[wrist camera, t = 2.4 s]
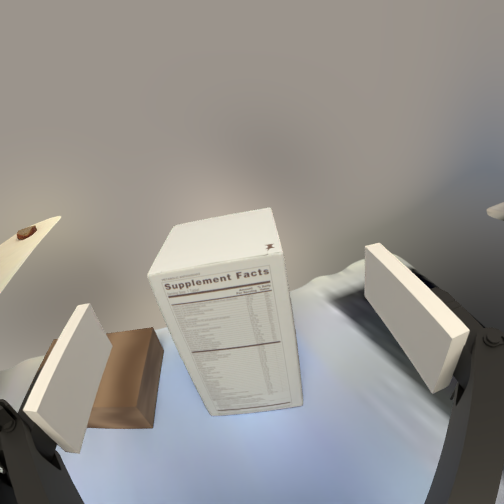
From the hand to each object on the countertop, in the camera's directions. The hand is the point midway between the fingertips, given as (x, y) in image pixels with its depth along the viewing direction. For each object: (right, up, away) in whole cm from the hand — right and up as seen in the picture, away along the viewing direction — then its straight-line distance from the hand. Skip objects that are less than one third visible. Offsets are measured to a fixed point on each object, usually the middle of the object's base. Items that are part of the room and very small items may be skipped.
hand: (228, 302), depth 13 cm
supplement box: (+1, -11, +17) cm, 20 cm away
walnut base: (-17, -14, +17) cm, 28 cm away
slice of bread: (-110, +10, +103) cm, 151 cm away
